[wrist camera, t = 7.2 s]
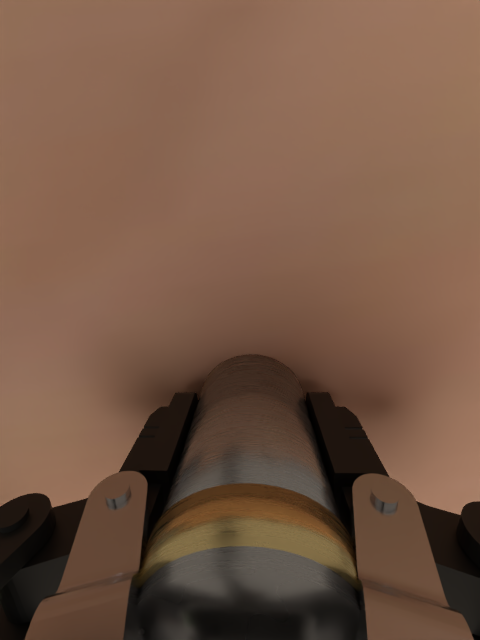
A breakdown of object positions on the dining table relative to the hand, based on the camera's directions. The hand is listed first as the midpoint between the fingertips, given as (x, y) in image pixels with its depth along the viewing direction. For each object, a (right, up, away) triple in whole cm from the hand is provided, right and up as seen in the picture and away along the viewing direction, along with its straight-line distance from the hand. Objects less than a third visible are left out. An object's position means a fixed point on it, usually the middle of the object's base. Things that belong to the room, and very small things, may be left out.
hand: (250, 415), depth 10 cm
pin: (0, 0, +1) cm, 1 cm away
